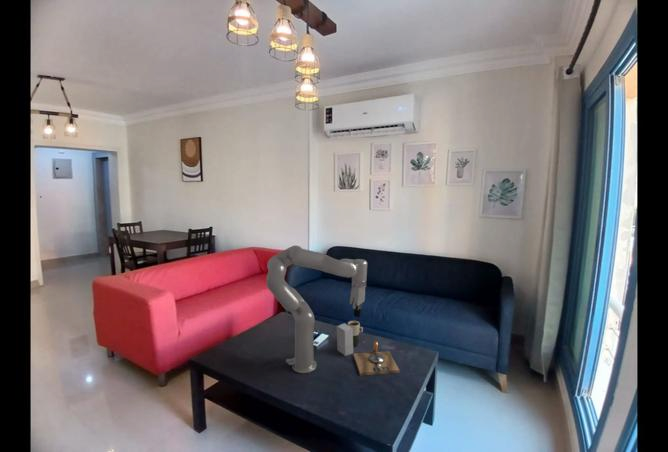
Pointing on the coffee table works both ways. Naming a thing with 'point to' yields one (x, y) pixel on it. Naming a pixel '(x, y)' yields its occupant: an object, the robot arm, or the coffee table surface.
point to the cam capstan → (376, 356)
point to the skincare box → (345, 339)
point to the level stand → (375, 364)
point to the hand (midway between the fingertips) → (357, 316)
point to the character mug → (355, 331)
